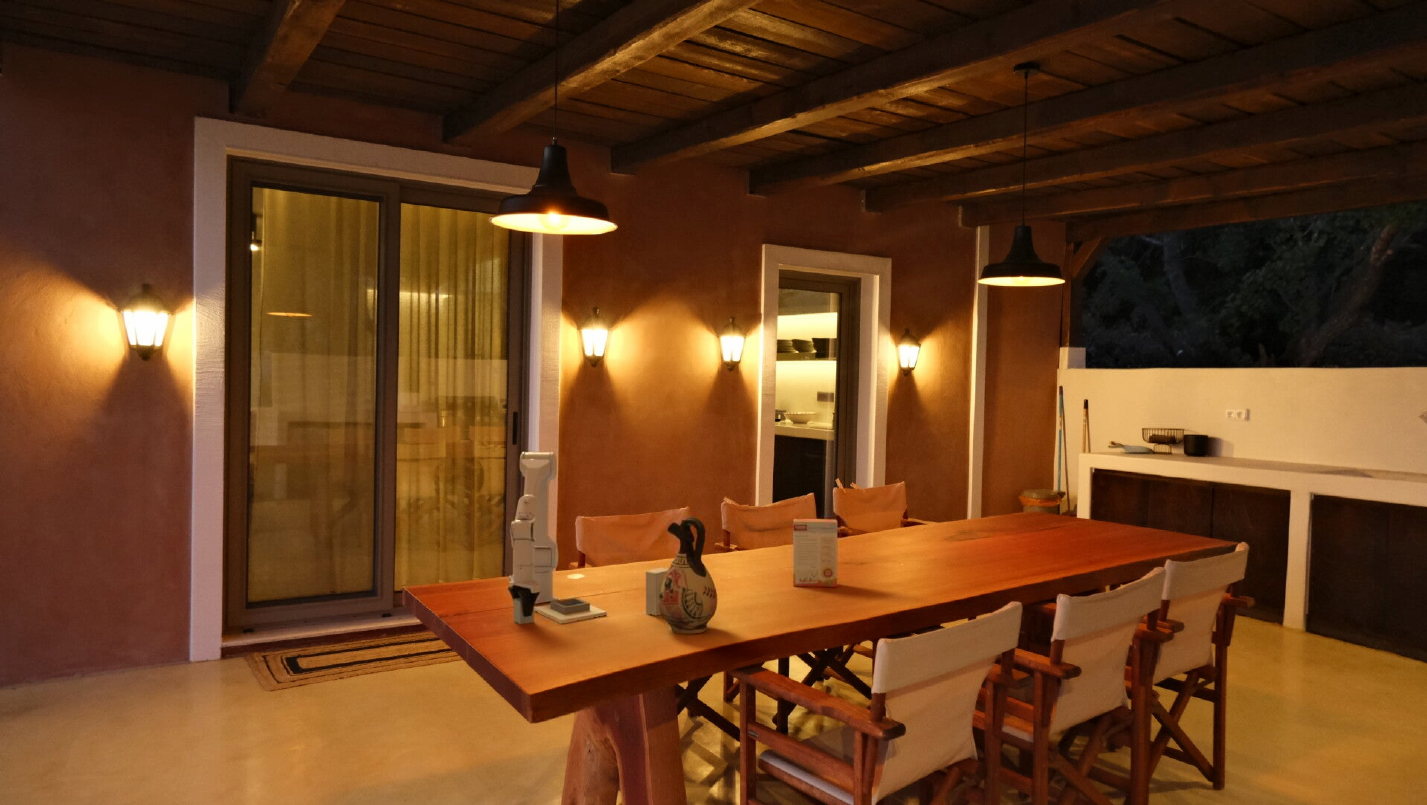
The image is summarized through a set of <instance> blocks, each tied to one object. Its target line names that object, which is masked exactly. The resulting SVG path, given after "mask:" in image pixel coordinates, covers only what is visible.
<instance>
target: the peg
mask: <svg viewBox="0 0 1427 805" xmlns="http://www.w3.org/2000/svg"><path fill="white" fill-rule="evenodd" d="M513 622H514V623H517V624H518V625H525V624H530V623H534V622H535V611H534V608H533V612H532V616H528V617H524V616H523V611H522V603H521V599H520V598H516V599H514V602H513ZM524 623H525V624H524Z"/></svg>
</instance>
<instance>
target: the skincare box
mask: <svg viewBox="0 0 1427 805" xmlns="http://www.w3.org/2000/svg"><path fill="white" fill-rule="evenodd" d="M668 569H669V568H663V567H658V568H653V569H650V570H646V571H645V615H646V614H647V615H650V614H652V615H651V616H654V615H655V616H654V617H657V615H658V616H661V615H662V614H661V612H660V608H659V593H660V588H661V584H662V580H663V578H664V576H665V574H666V572H667V571H668ZM660 614H661V615H660Z"/></svg>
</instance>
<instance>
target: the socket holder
mask: <svg viewBox="0 0 1427 805" xmlns="http://www.w3.org/2000/svg"><path fill="white" fill-rule="evenodd" d="M549 602H550V603H549V604H545V605H540V606H534V612H535V611H537V612H538V614H540V615H542V616H543V617H547V618H548V617H549V618H548V619H550V620H551V621H554V620H555V622H556V621H557V623H559V624H561V625H562V623H563V624H568V623H572V622H578V621H577V620H579V621H583V620H590V619H593V618H592V617H596V618H600V617H599V616H601V617H604V616H603V615H606V616H607V615H608V613H607V611H606V610H603V609H601V608H599V607H596V606H594V605H592V604H591V603H590V602H588V601H585V600H583V599H580V598H578V597H571V598H564V599H558V600H555V601H549ZM537 612H536V613H537ZM589 618H590V619H589Z"/></svg>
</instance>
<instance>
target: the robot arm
mask: <svg viewBox="0 0 1427 805" xmlns="http://www.w3.org/2000/svg"><path fill="white" fill-rule="evenodd" d="M557 460H558V459H557V454H556V453H555V452H554V451H551V452H550V451H549V452H547V451H546V452H545V451H544V452H543V451H540V452H538V451H532V452H531V451H529V452H528V451H527V452H526V451H522V452H521V454H520V457H519V471H520V472H521V474H522V477H524V489H523V496H521V497H519V499H518V502H517V508H516V511H515V512H516V513H515V517H514V518H515V519H514V520H512V521H511V523H510V527H509V529H510V530H509V533H510V539H511V548H512V575H509V576H508V585H510V586H507V590H508V592H509V594H510V596H511V598H512V601H513V603H514V599H516V598H520V599H521V603H522V611H523V616H524V617H528V616H532V612H533V608H534V607H535V605H536V604H542V603H548V602H551V601H557V600H559V597H556V596H554V593H553V592H554V590H553V588H554V586H553V584H554V582H553V580H554V579H553V578H554V577H553V576H554V572H553V571H554V569H556V568H557V567H558V564H559V550H558V543H557V541H556V540H555V539H554V538H553V537H551V536H550V535H549V514H550V513H549V512H550V510H549V508H550V506H549V504H550V502H549V500H550V497H549V496H550V484H551V481H553V480H555V479H556V478H557V468H558V467H557V464H558V463H557V462H558V461H557Z"/></svg>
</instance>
